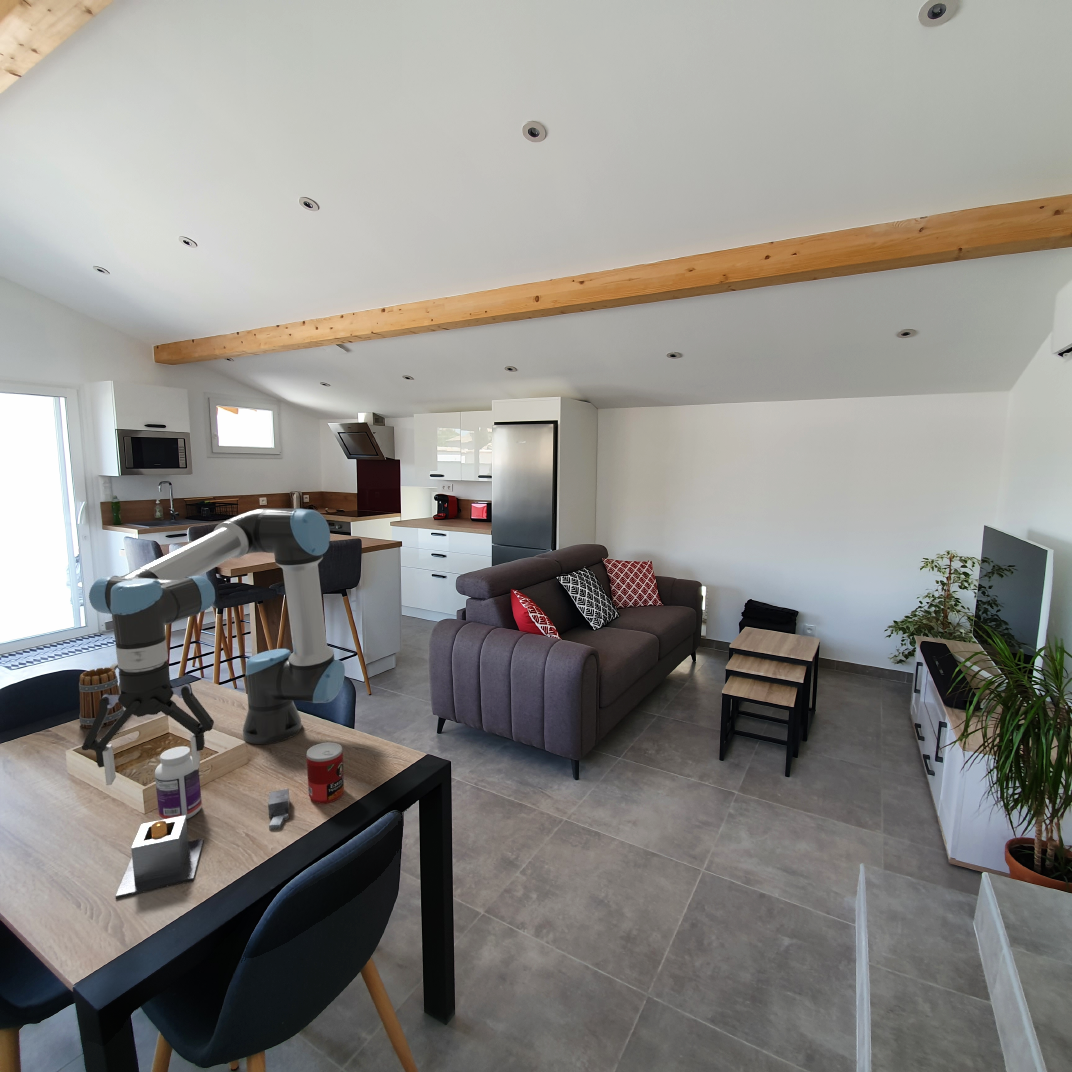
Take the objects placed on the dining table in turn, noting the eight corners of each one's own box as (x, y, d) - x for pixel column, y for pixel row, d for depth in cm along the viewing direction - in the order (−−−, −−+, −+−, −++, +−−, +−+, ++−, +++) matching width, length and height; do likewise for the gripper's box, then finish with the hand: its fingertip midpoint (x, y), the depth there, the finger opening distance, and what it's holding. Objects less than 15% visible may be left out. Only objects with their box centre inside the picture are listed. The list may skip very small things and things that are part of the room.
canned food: (333, 806, 129) (331, 760, 128) (301, 801, 131) (298, 756, 129) (350, 787, 137) (349, 743, 135) (320, 783, 138) (318, 740, 137)
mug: (106, 729, 165) (101, 679, 163) (70, 729, 165) (64, 679, 163) (144, 705, 180) (140, 660, 178) (111, 705, 180) (106, 659, 178)
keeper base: (133, 855, 113) (129, 813, 112) (203, 840, 118) (200, 800, 116) (115, 899, 102) (110, 852, 101) (193, 880, 106) (189, 836, 105)
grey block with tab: (270, 804, 130) (269, 792, 129) (289, 800, 131) (288, 788, 131) (267, 831, 120) (266, 818, 120) (288, 827, 122) (287, 814, 122)
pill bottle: (196, 798, 132) (191, 739, 130) (206, 814, 126) (201, 752, 124) (155, 813, 126) (149, 752, 124) (164, 830, 121) (158, 766, 119)
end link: (144, 857, 112) (141, 823, 111) (188, 847, 115) (185, 815, 114) (134, 883, 105) (131, 848, 104) (181, 872, 108) (178, 838, 107)
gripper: (50, 683, 96) (65, 799, 99) (218, 662, 105) (227, 770, 108) (66, 667, 103) (80, 776, 106) (223, 649, 112) (232, 751, 115)
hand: (155, 773), depth 107 cm, fingers open, 13 cm apart
